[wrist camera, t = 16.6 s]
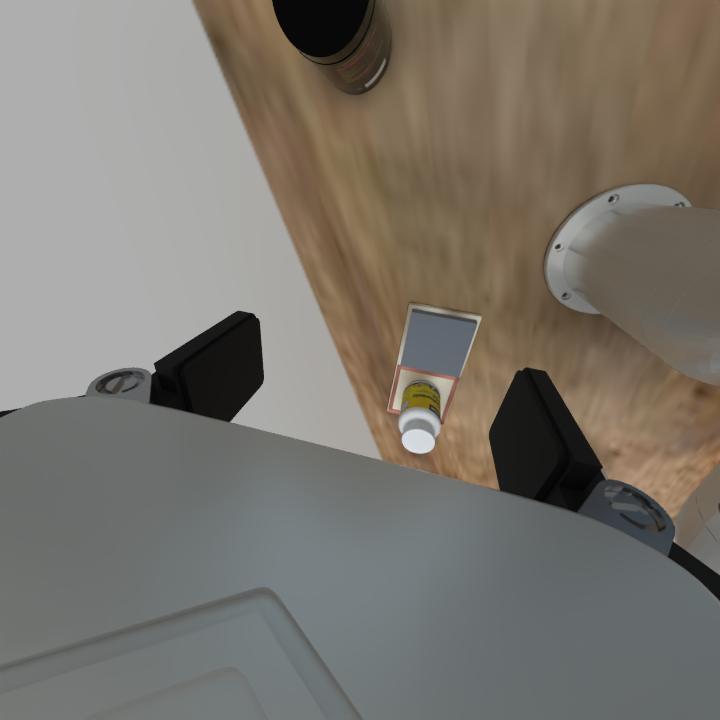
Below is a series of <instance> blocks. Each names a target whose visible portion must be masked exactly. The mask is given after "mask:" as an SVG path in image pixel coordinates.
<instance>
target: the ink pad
mask: <svg viewBox="0 0 720 720" xmlns="http://www.w3.org/2000/svg"><path fill="white" fill-rule="evenodd" d="M476 327H477V320H473V319H467V318H462V317H456V316H451V315H445V314H440V313H434V312H429V311H423V310H418V309H412V313H411V317H410V322H409V327H408V331H407V336H406V341H405V345H404V350H403V355H402V359H401V364H400V366H404V367H409V368H414V369H419V370H424V371H428V372H433V373H438V374H443V375H448V376H452V377H457V378H459V376H460V373H461V370H462V367H463V364H464V362H465V359H466V356H467V353H468V350H469V347H470V344H471V341H472V338H473V336H474V333H475V330H476Z"/></svg>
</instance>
